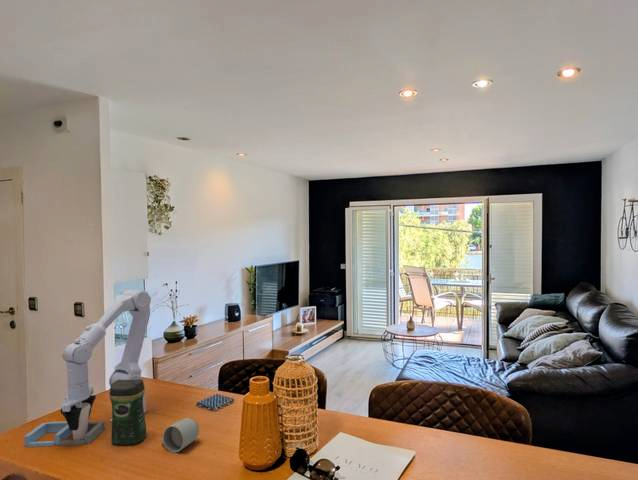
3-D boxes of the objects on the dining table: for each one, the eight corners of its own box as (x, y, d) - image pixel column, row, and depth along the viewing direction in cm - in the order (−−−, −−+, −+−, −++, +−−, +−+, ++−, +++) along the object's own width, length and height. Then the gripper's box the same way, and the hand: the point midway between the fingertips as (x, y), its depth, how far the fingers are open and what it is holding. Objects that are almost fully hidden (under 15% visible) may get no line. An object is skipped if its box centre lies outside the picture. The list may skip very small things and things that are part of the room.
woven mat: (194, 407, 155) (194, 402, 155) (216, 397, 164) (216, 392, 164) (213, 414, 149) (213, 408, 149) (235, 403, 158) (235, 398, 158)
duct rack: (104, 428, 139) (104, 419, 138) (88, 444, 128) (88, 434, 128) (44, 431, 138) (43, 422, 138) (23, 447, 128) (23, 437, 128)
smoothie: (81, 443, 130) (79, 397, 129) (63, 441, 131) (61, 396, 131) (96, 433, 136) (94, 389, 136) (79, 431, 137) (77, 388, 137)
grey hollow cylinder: (201, 441, 129) (200, 416, 129) (183, 454, 121) (182, 428, 121) (173, 436, 133) (172, 412, 132) (154, 449, 125) (153, 423, 125)
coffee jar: (150, 433, 134) (148, 375, 134) (138, 446, 127) (136, 384, 126) (120, 433, 135) (118, 375, 135) (106, 446, 127) (104, 384, 127)
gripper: (77, 374, 140) (79, 415, 140) (51, 391, 126) (52, 436, 126) (99, 373, 140) (100, 414, 141) (75, 390, 126) (77, 435, 126)
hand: (79, 424), depth 133 cm, fingers closed on smoothie, 6 cm apart
